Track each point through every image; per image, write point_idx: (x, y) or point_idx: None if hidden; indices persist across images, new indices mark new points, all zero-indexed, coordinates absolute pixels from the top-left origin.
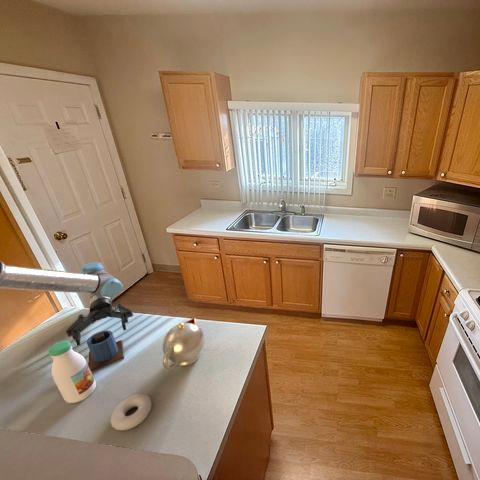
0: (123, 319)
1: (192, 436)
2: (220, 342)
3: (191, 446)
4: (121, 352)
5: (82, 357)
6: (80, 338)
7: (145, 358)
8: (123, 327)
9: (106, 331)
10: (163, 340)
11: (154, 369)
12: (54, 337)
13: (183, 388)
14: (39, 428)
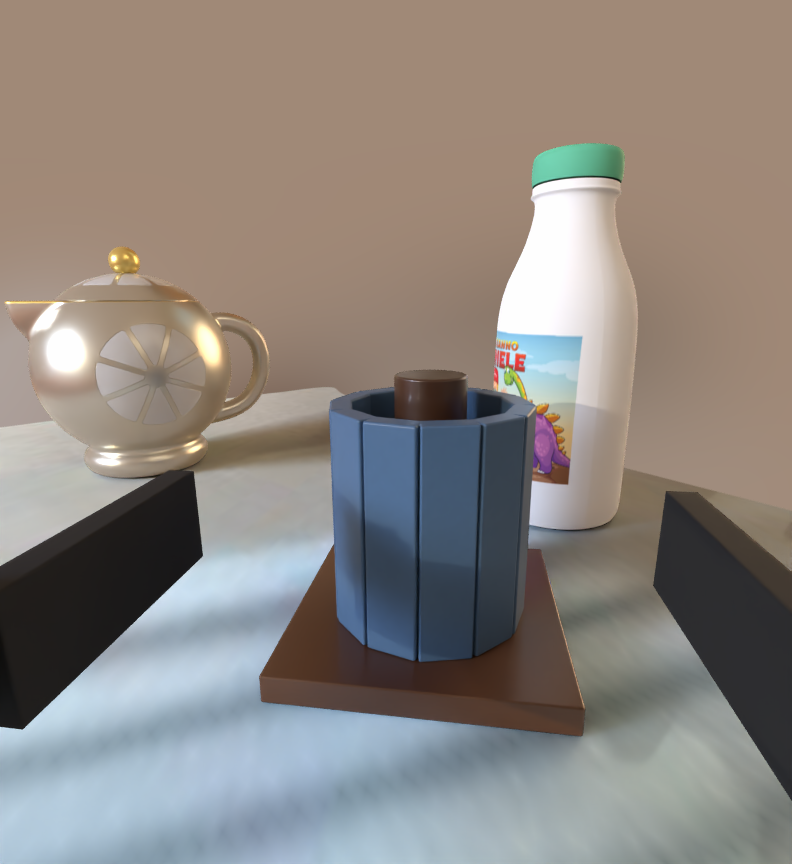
0: (89, 517)
1: (319, 397)
2: (9, 459)
3: (330, 394)
4: (333, 562)
5: (505, 290)
6: (717, 670)
7: (256, 514)
8: (191, 514)
9: (363, 415)
10: (193, 331)
11: (270, 474)
12: None
13: (260, 428)
14: (658, 476)
